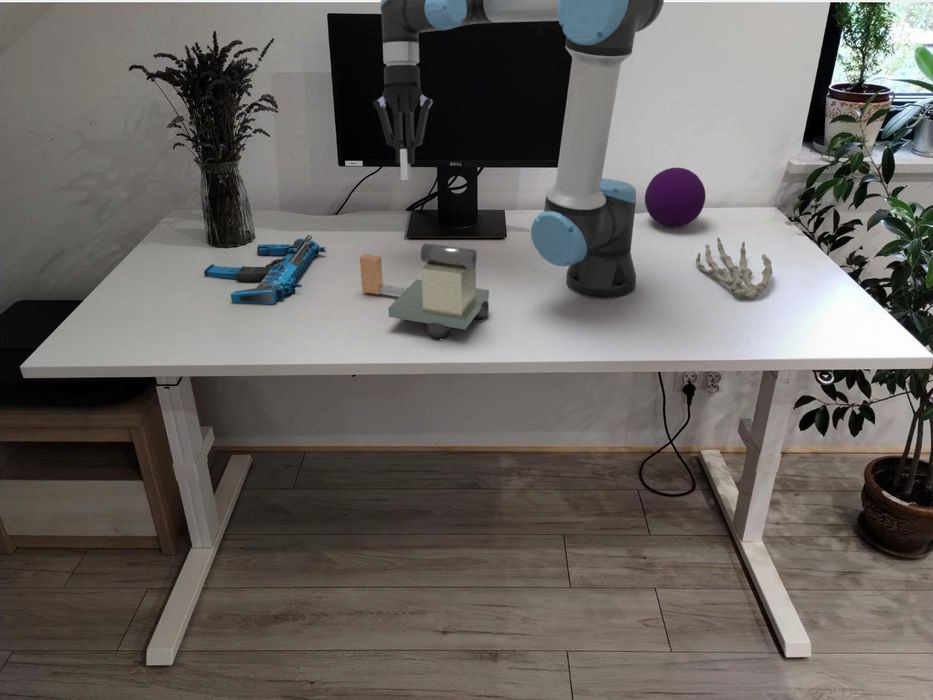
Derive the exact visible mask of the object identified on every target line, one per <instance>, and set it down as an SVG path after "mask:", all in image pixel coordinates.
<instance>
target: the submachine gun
mask: <svg viewBox="0 0 933 700" xmlns="http://www.w3.org/2000/svg"><path fill="white" fill-rule="evenodd" d="M312 239H313V237H312V235H311V234H308V235H306V237H305V238H304V237H303V238H297V239H296V240H295V241H293V244H292V245H291V244H290V243H286V244H285V243H281V244H278V243H277V244H275V243H274V244H272V243H271V244H270V243H269V244H264V243H263V244H257V247H256V248H257V249H256V252H257V254H258V255H269V256H284V257H282V258H277V259H273V260H272V261H270V262H269V263H268V264H265V266H245V265H243V266H241V267H237V266H235V267H234V266H232V267H231V266H221V265H215V264H210V265H209V266H208V267H206V268H205V269H204V271H203V273H204V277H205V278H207V277H209V278H217V279H218V278H219V279H235V280H237V281H238V282H257V281H260V282H259V284H258V285H257V287H254V288H249V289H242V290H236V291H233V292H232V293H231V294H230V299H231V302H232V303H239V304H255V305H256V304H257V305H259V304H260V305H274V304H276V302H277V301H278V300H282V301H283V300H285V298H286V296H287V294H291V293H295V294H296V288H302V287H303V284H301V283H300V284H296V283H297V282H298V280H299V279H300V278H301V276H302V275H303V273H304V272H305V270H306V269H307V267H308V266H309V265H310V263H311V262H312V260H313V259H314V257H316V256H318V255H319V254H320V253H327V246H321V247H320V245H319V243H317V242H315V241H313V240H312ZM237 281H236V282H237ZM284 295H286V296H284Z"/></svg>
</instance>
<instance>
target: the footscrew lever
mask: <svg viewBox="0 0 933 700" xmlns="http://www.w3.org/2000/svg"><path fill="white" fill-rule="evenodd" d="M359 264H360V276H361V277H360V278H361V288H362V292H363V293H368V294H373V295H374V294H375V295H381V294H382V293H383V294H389V295H394V296H395V295H396V296H401V295H402V294H403V293H404V292H405V291H406V290H407V289H408V288H409V287H410V286H408V287H401V286H395V285H394V286H393V285H388V284H384V279H383V269H382V268H383V267H382V266H383V265H382V256H379V255H372V254H363V255H361V256H360V257H359Z"/></svg>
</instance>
